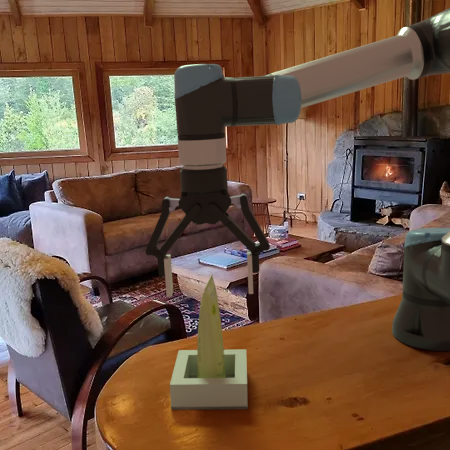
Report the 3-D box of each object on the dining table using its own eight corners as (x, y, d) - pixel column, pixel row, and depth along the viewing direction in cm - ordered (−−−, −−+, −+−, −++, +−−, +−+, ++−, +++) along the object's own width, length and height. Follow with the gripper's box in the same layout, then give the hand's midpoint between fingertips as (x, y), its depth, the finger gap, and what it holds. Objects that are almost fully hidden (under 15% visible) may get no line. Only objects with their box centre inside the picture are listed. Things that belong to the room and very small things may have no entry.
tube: (233, 389, 90) (230, 281, 86) (208, 398, 88) (204, 287, 83) (215, 376, 95) (212, 273, 91) (191, 384, 92) (186, 279, 88)
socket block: (246, 371, 97) (246, 349, 96) (247, 409, 85) (247, 383, 84) (179, 372, 98) (178, 350, 97) (171, 409, 86) (169, 384, 85)
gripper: (279, 160, 86) (283, 282, 91) (130, 167, 87) (140, 287, 92) (283, 165, 79) (286, 297, 84) (120, 172, 80) (132, 303, 85)
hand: (210, 292), depth 88 cm, fingers open, 13 cm apart
